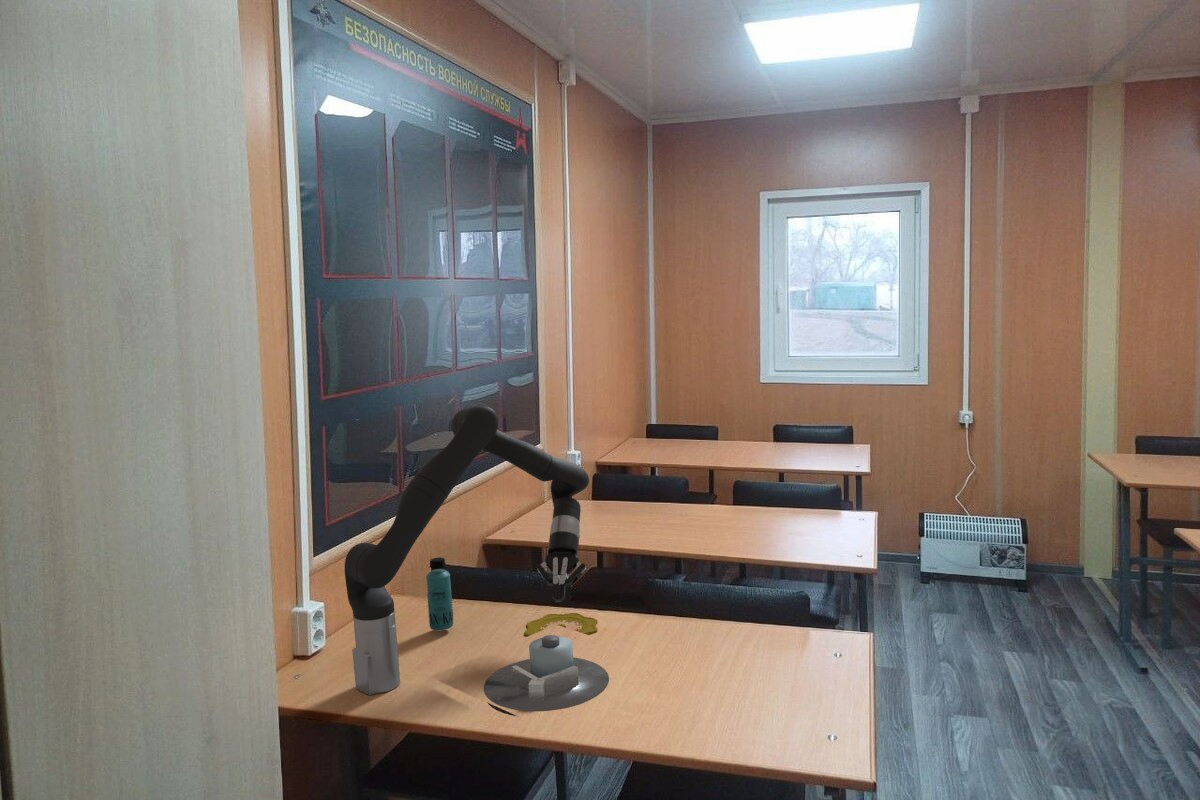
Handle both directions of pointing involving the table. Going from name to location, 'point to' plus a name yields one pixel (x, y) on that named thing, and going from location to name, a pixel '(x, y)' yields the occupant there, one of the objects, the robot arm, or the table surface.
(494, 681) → the turntable
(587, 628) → the decorative medallion
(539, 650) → the cover
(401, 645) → the table surface
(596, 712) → the table surface
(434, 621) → the beverage bottle
